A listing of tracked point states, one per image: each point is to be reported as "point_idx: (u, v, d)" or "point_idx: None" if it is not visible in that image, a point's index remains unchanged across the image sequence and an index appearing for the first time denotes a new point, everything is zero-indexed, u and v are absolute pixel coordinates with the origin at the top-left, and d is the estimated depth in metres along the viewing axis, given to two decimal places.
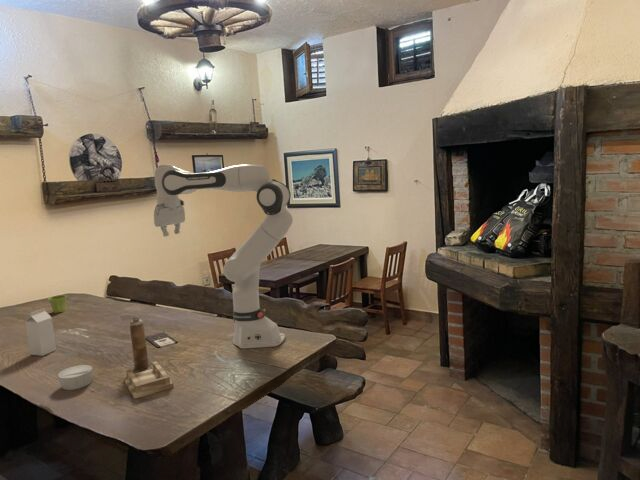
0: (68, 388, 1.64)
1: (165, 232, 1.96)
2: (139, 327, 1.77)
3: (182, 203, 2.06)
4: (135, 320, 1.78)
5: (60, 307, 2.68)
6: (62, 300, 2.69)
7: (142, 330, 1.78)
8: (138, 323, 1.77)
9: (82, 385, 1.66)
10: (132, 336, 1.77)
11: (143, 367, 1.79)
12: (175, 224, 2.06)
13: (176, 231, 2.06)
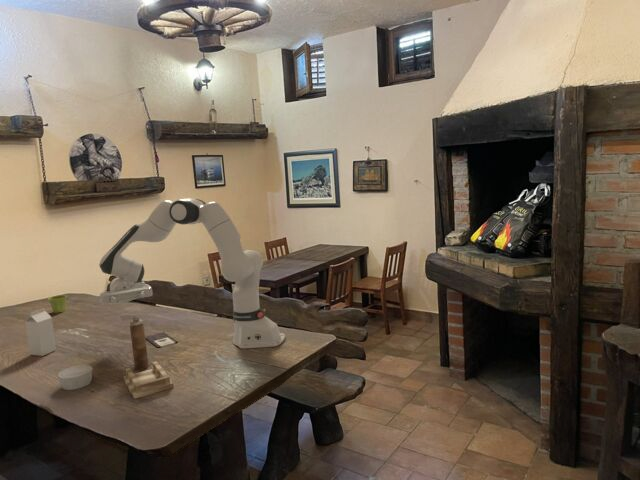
0: (68, 388, 1.64)
1: (113, 299, 1.87)
2: (139, 327, 1.77)
3: (139, 282, 2.02)
4: (135, 320, 1.78)
5: (60, 307, 2.68)
6: (62, 300, 2.69)
7: (142, 330, 1.78)
8: (138, 323, 1.77)
9: (82, 385, 1.66)
10: (132, 336, 1.77)
11: (143, 367, 1.79)
12: None
13: (139, 295, 1.91)
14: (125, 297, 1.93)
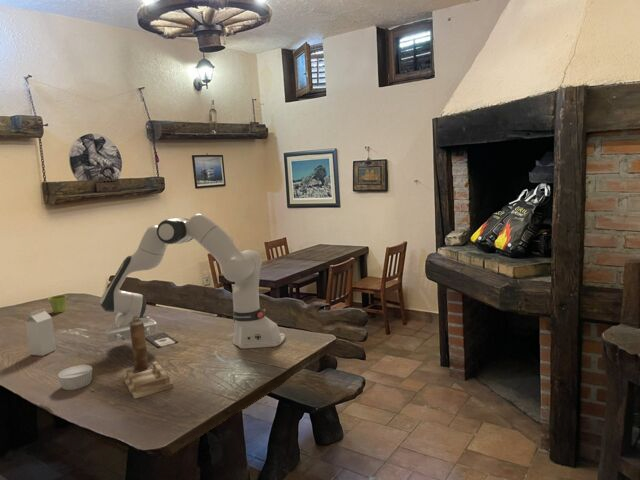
0: (68, 388, 1.64)
1: (119, 336, 1.87)
2: (139, 327, 1.77)
3: (144, 317, 2.02)
4: (135, 320, 1.78)
5: (60, 307, 2.68)
6: (62, 300, 2.69)
7: (142, 330, 1.78)
8: (138, 323, 1.77)
9: (82, 385, 1.66)
10: (132, 336, 1.77)
11: (143, 367, 1.79)
12: None
13: None
14: None
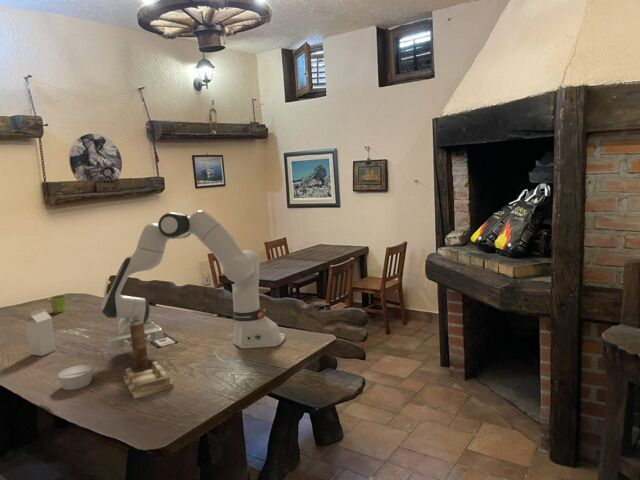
0: (68, 388, 1.64)
1: (127, 343, 1.79)
2: (139, 327, 1.77)
3: (149, 323, 1.93)
4: (135, 320, 1.78)
5: (60, 307, 2.68)
6: (62, 300, 2.69)
7: (142, 330, 1.78)
8: (138, 323, 1.77)
9: (82, 385, 1.66)
10: (132, 336, 1.77)
11: (143, 367, 1.79)
12: None
13: None
14: None
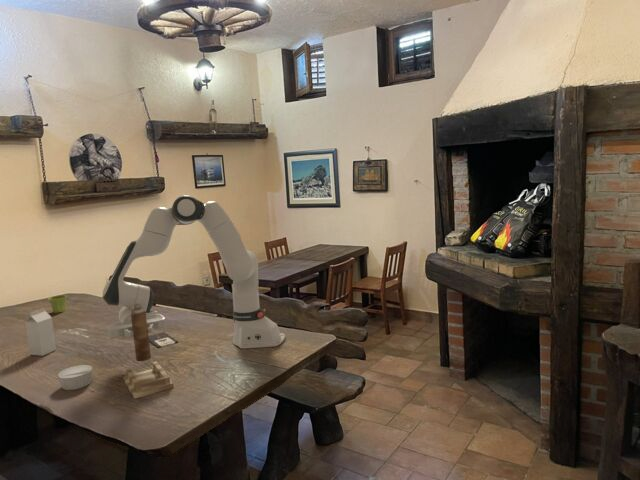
0: (68, 388, 1.64)
1: (128, 332, 1.66)
2: (141, 315, 1.65)
3: (151, 311, 1.81)
4: (136, 308, 1.65)
5: (60, 307, 2.68)
6: (62, 300, 2.69)
7: (144, 319, 1.66)
8: (140, 311, 1.65)
9: (82, 385, 1.66)
10: (133, 325, 1.65)
11: (145, 358, 1.67)
12: None
13: None
14: None
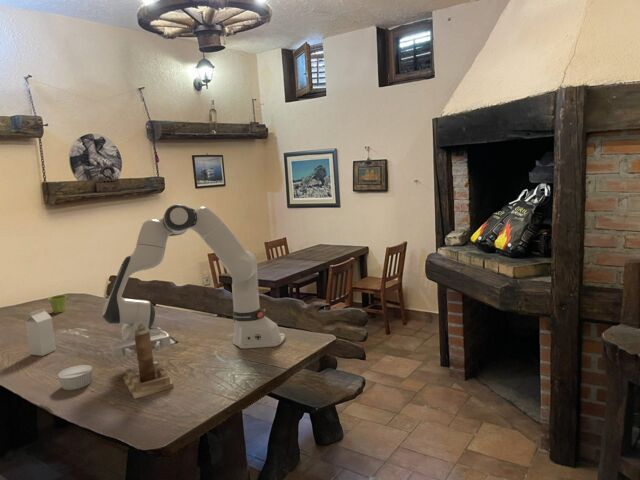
0: (68, 388, 1.64)
1: (128, 351, 1.62)
2: (145, 336, 1.61)
3: (155, 328, 1.77)
4: (140, 329, 1.61)
5: (60, 307, 2.68)
6: (62, 300, 2.69)
7: (148, 340, 1.62)
8: (144, 332, 1.61)
9: (82, 385, 1.66)
10: (137, 346, 1.61)
11: (149, 380, 1.64)
12: None
13: (154, 347, 1.66)
14: None
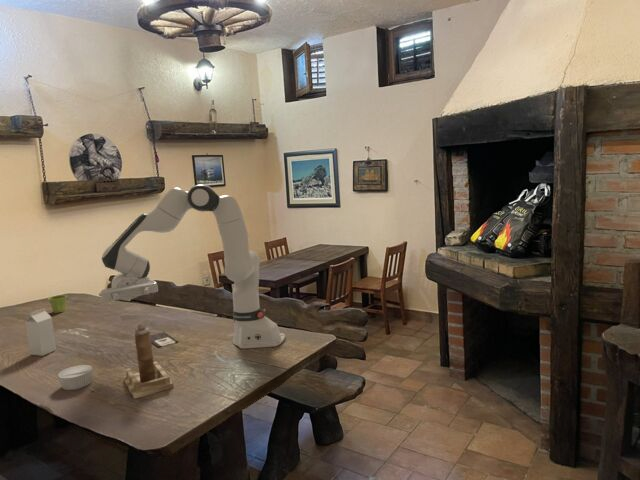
0: (68, 388, 1.64)
1: (116, 296, 1.70)
2: (145, 336, 1.62)
3: (143, 277, 1.86)
4: (140, 328, 1.62)
5: (60, 307, 2.68)
6: (62, 300, 2.69)
7: (148, 339, 1.63)
8: (144, 332, 1.61)
9: (82, 385, 1.66)
10: (137, 346, 1.62)
11: (149, 380, 1.64)
12: None
13: (143, 291, 1.75)
14: (128, 294, 1.76)
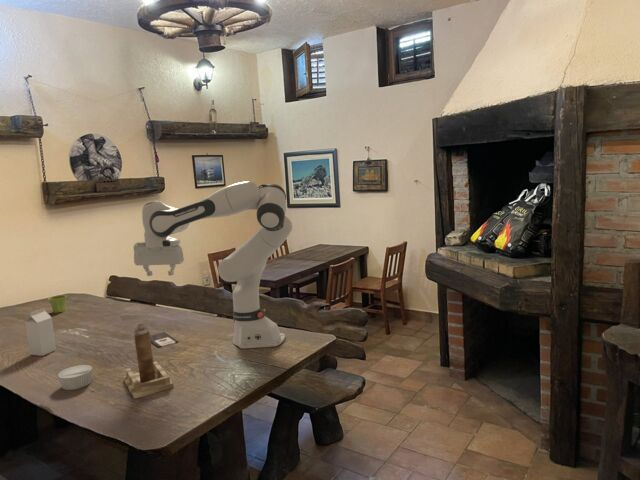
0: (68, 388, 1.64)
1: None
2: (144, 336, 1.61)
3: (167, 244, 1.83)
4: (140, 329, 1.62)
5: (60, 307, 2.68)
6: (62, 300, 2.69)
7: (148, 339, 1.63)
8: (143, 332, 1.61)
9: (82, 385, 1.66)
10: (137, 346, 1.62)
11: (149, 380, 1.64)
12: None
13: None
14: None
